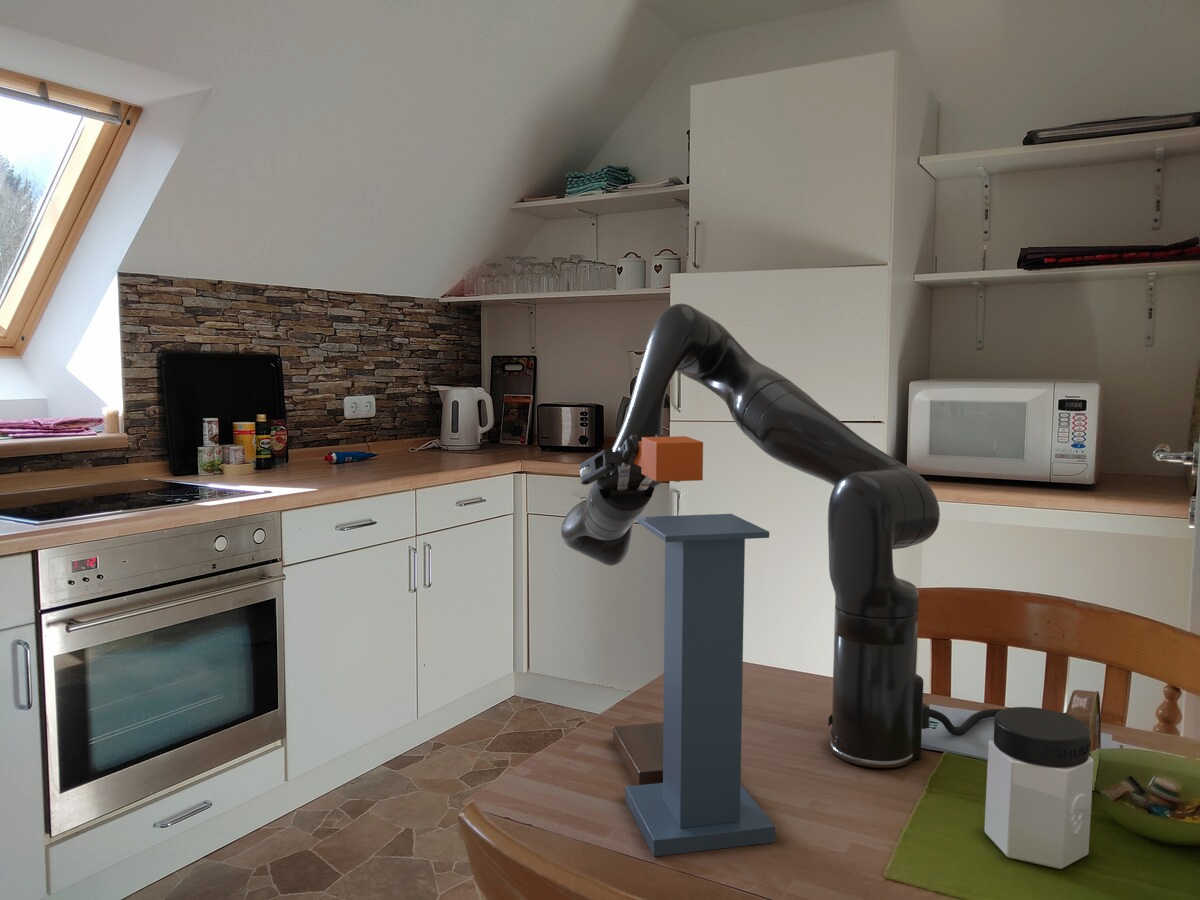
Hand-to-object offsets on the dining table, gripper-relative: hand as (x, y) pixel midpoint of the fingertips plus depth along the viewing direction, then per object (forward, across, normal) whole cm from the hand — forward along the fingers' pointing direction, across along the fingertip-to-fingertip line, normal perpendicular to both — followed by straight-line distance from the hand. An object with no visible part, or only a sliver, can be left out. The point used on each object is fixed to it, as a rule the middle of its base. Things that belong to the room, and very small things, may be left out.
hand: (648, 442), depth 107 cm
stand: (-1, 0, +41) cm, 41 cm away
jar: (+8, +30, +46) cm, 56 cm away
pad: (-13, 0, +34) cm, 37 cm away
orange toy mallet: (+2, 0, +4) cm, 5 cm away
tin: (-2, +45, +40) cm, 61 cm away
